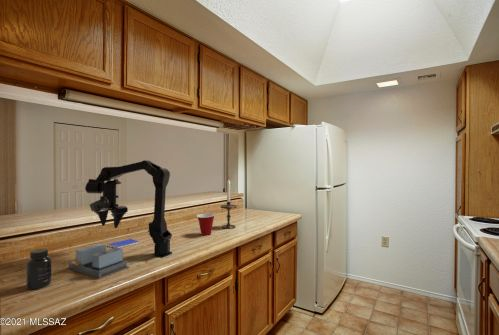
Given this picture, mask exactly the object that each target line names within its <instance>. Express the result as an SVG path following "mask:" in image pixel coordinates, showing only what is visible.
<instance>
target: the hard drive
mask: <svg viewBox="0 0 499 335" xmlns="http://www.w3.org/2000/svg"><path fill="white" fill-rule="evenodd" d="M135 243H136V244H139V240H136V239H132V238H127V239H124V240H120V241H115V242H111V243H108V244H106V246H107V247H109V246H110V247H109V248H112V247H113V248H116V247H117V248H120V247H121V248H124V246H125V247H128V245H129V246H131V245H136V244H135ZM113 248H112V249H113Z"/></svg>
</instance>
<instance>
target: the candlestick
mask: <svg viewBox="0 0 499 335" xmlns="http://www.w3.org/2000/svg"><path fill="white" fill-rule="evenodd" d="M227 178H228V180H227V184H226V187H227V188H226V190H227V192H226V193H227V197H226V198H227V200H226V204H222V205H220V207H219V208H221V209H226V210H227V215H226V218H227V219H226V221H227V222H226V224H223V225H221V228H222V229H225V230H232V229H235V228H236V225H235V224H231V223H230V221H231V219H230V218H231V215H230V214H231V213H230V210H232V209H236V208H238V205H236V204H231V181H230V175H228V176H227Z"/></svg>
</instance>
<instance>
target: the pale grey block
mask: <svg viewBox="0 0 499 335" xmlns="http://www.w3.org/2000/svg"><path fill="white" fill-rule="evenodd" d="M106 246H107V244H103V243H96V244H93V245H90V246H85V247H82V248H78V249H75V261H76V262H77V263H80V265H83V264H86V263H90V262H92V254H96V253H99V252H103V251H106V250H107V247H106Z"/></svg>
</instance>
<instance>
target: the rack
mask: <svg viewBox="0 0 499 335" xmlns="http://www.w3.org/2000/svg"><path fill="white" fill-rule="evenodd" d="M127 262H128V261H127V260H125V261H124V249H123V248H122V247H121V248H117V247H116V248H110V249H106V251H103V252H99V253H96V254H92V262H90V263H86V264H83V265H80V263H77V262H76V260H75V261H68V267H67V269H68V270H71V271H74V272H77V273H79V274H83V275H87V276H89V277H93V278H95V279H98V280H100V279H102V278H105V277H108V276H110V275H113V274H117V273H119V272H122V271H124V270H126V269H129V268H130V266H128V264H127Z"/></svg>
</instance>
